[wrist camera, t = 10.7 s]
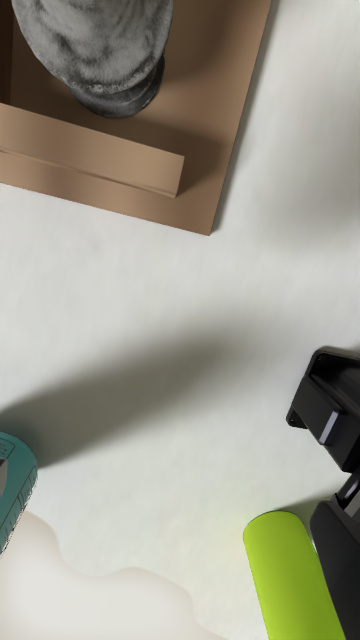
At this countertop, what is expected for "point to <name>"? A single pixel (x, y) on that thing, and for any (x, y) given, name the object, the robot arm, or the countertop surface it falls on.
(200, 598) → the countertop surface
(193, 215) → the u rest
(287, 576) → the soap dispenser
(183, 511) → the countertop surface
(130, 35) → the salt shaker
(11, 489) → the beverage bottle
